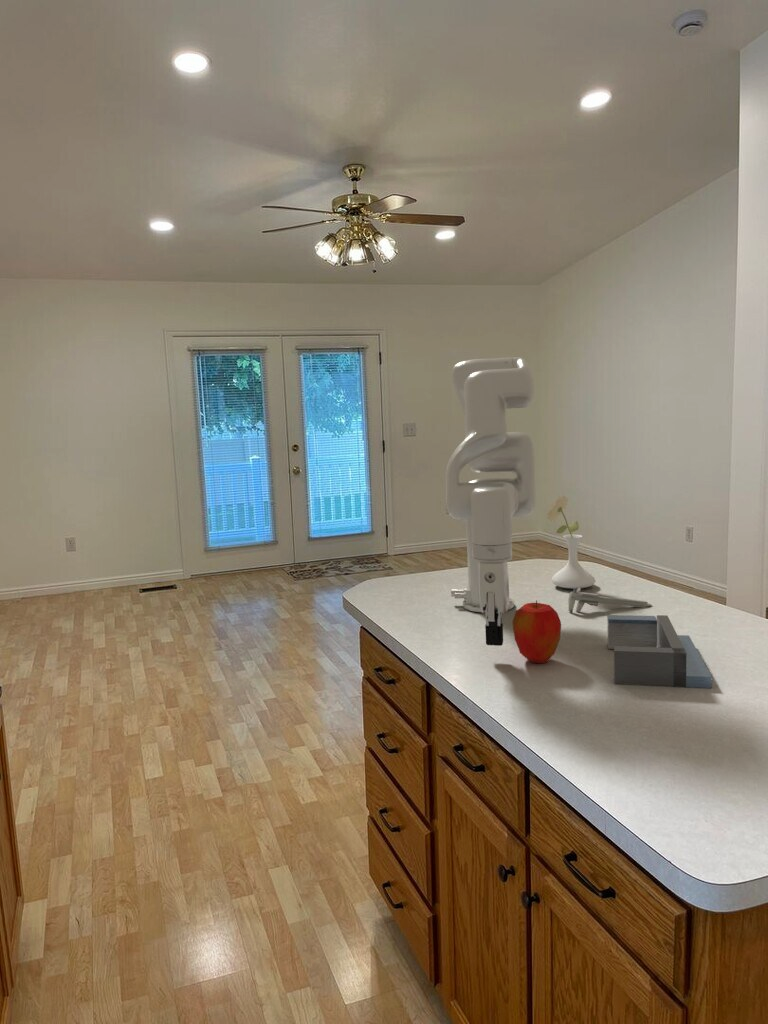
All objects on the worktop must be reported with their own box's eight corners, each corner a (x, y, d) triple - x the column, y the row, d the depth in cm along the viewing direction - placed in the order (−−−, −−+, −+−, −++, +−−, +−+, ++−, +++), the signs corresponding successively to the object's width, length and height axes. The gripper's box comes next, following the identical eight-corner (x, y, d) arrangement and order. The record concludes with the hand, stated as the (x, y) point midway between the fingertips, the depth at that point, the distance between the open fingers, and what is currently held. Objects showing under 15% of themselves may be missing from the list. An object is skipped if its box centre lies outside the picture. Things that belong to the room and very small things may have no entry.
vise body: (615, 684, 122) (614, 650, 121) (606, 642, 143) (606, 614, 142) (711, 688, 118) (712, 654, 117) (688, 645, 139) (689, 615, 138)
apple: (506, 655, 139) (504, 596, 137) (548, 650, 140) (547, 592, 139) (524, 672, 130) (523, 609, 128) (570, 666, 131) (569, 604, 130)
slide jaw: (608, 648, 139) (608, 619, 138) (607, 643, 142) (607, 614, 141) (656, 650, 136) (657, 620, 136) (654, 645, 139) (655, 615, 139)
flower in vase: (576, 579, 196) (575, 490, 192) (604, 588, 185) (604, 494, 182) (537, 586, 190) (536, 494, 187) (564, 595, 180) (563, 498, 177)
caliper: (570, 614, 164) (569, 588, 163) (568, 613, 165) (568, 587, 165) (652, 607, 167) (652, 581, 166) (650, 606, 168) (650, 580, 167)
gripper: (509, 559, 126) (511, 658, 128) (514, 544, 140) (516, 632, 143) (467, 559, 128) (470, 656, 130) (477, 544, 142) (479, 631, 145)
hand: (494, 643), depth 136 cm, fingers closed
